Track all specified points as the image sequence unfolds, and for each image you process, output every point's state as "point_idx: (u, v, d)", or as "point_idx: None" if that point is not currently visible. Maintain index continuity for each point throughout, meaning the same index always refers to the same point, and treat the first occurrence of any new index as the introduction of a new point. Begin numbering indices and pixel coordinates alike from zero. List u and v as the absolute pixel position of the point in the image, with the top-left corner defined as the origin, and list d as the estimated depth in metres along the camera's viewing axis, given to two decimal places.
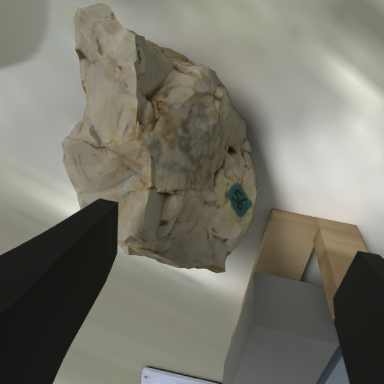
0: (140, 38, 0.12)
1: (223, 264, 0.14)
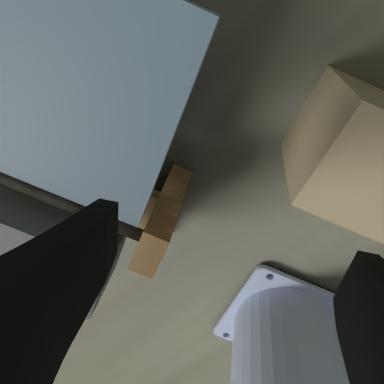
0: None
1: None
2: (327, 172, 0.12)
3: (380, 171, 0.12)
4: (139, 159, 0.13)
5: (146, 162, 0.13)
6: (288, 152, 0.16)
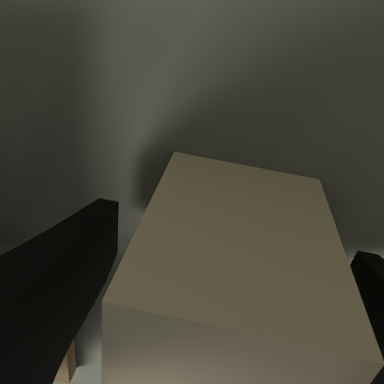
0: None
1: None
2: None
3: None
4: None
5: None
6: None
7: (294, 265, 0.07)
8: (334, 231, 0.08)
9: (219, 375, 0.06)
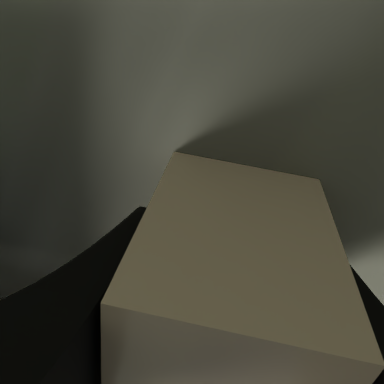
0: None
1: None
2: None
3: None
4: None
5: None
6: None
7: (294, 267, 0.07)
8: (335, 232, 0.08)
9: (219, 376, 0.06)
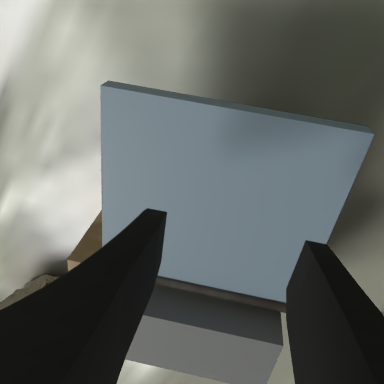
0: None
1: None
2: None
3: None
4: (300, 251, 0.15)
5: None
6: None
7: None
8: None
9: None
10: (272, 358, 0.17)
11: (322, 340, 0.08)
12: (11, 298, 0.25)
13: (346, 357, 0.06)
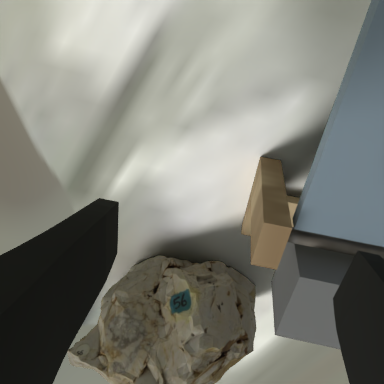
0: (75, 346, 0.22)
1: (204, 347, 0.18)
2: None
3: None
4: None
5: None
6: None
7: None
8: None
9: None
10: None
11: None
12: (128, 280, 0.23)
13: None
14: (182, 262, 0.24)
